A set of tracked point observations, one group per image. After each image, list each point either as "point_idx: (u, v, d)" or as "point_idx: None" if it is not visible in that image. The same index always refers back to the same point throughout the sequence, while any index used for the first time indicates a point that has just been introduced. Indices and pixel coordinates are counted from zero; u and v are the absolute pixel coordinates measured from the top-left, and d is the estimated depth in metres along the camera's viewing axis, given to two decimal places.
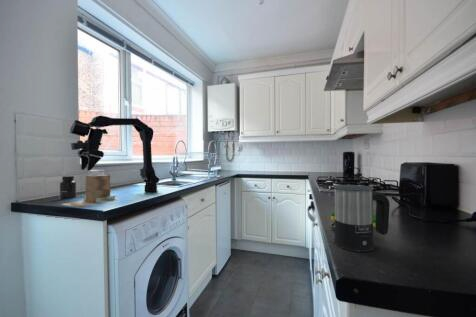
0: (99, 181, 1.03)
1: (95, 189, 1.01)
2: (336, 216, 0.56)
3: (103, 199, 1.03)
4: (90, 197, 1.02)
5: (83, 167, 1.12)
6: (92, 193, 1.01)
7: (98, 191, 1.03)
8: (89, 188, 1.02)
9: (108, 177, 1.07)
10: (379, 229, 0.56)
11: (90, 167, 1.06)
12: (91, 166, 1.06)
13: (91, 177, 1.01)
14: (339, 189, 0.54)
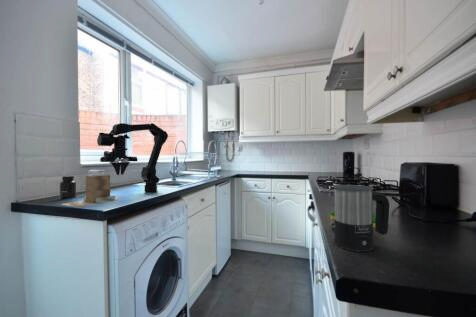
0: (99, 181, 1.03)
1: (95, 189, 1.01)
2: (336, 216, 0.56)
3: (103, 199, 1.03)
4: (90, 197, 1.02)
5: (121, 172, 1.22)
6: (92, 193, 1.01)
7: (98, 191, 1.03)
8: (89, 188, 1.02)
9: (108, 177, 1.07)
10: (379, 229, 0.56)
11: (117, 172, 1.19)
12: (117, 171, 1.19)
13: (91, 177, 1.01)
14: (339, 189, 0.54)
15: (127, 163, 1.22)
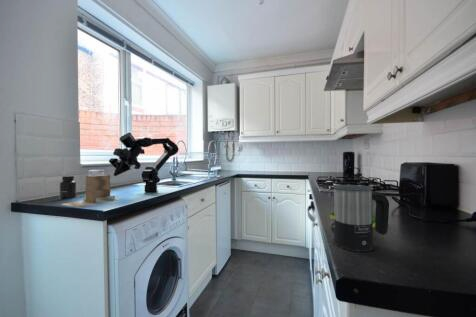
0: (99, 181, 1.03)
1: (95, 189, 1.01)
2: (336, 216, 0.56)
3: (103, 199, 1.03)
4: (90, 197, 1.02)
5: None
6: (92, 193, 1.01)
7: (98, 191, 1.03)
8: (89, 188, 1.02)
9: (108, 177, 1.07)
10: (379, 229, 0.56)
11: (117, 173, 1.14)
12: (118, 173, 1.15)
13: (91, 177, 1.01)
14: (339, 189, 0.54)
15: None
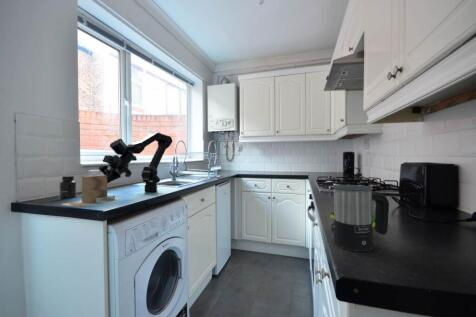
0: (96, 182, 1.02)
1: (91, 189, 1.00)
2: (335, 216, 0.56)
3: (103, 199, 1.03)
4: (87, 198, 1.00)
5: None
6: (88, 194, 1.00)
7: (95, 191, 1.01)
8: (85, 188, 1.01)
9: (105, 177, 1.06)
10: (378, 229, 0.56)
11: (107, 181, 1.09)
12: (108, 181, 1.09)
13: (87, 177, 1.00)
14: (338, 189, 0.55)
15: None
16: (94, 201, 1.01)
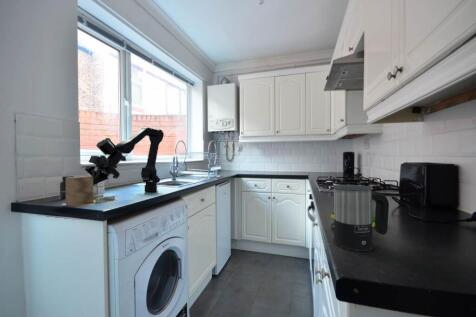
0: (80, 183, 0.96)
1: (75, 192, 0.94)
2: (335, 216, 0.56)
3: (103, 199, 1.03)
4: (70, 201, 0.94)
5: None
6: (72, 196, 0.94)
7: (79, 194, 0.95)
8: (69, 190, 0.95)
9: (91, 179, 1.00)
10: (378, 229, 0.56)
11: (93, 183, 1.03)
12: (94, 183, 1.03)
13: (71, 179, 0.94)
14: (338, 189, 0.55)
15: None
16: (78, 204, 0.95)
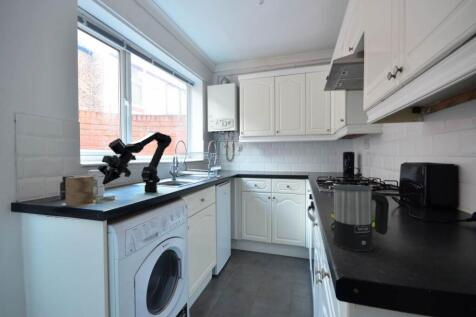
0: (80, 183, 0.96)
1: (75, 192, 0.94)
2: (335, 216, 0.56)
3: (103, 199, 1.03)
4: (70, 201, 0.94)
5: None
6: (72, 196, 0.94)
7: (79, 194, 0.95)
8: (69, 190, 0.95)
9: (91, 179, 1.00)
10: (378, 229, 0.56)
11: (106, 181, 1.09)
12: (108, 181, 1.09)
13: (71, 179, 0.94)
14: (338, 189, 0.55)
15: None
16: (78, 204, 0.95)
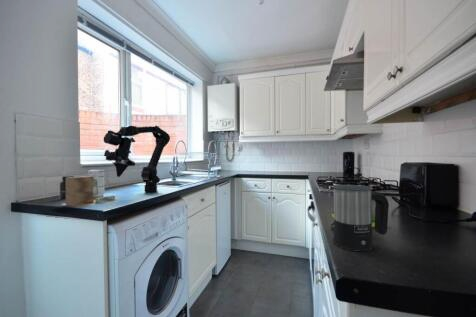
0: (80, 183, 0.96)
1: (75, 192, 0.94)
2: (335, 216, 0.56)
3: (103, 199, 1.03)
4: (70, 201, 0.94)
5: None
6: (72, 196, 0.94)
7: (79, 194, 0.95)
8: (69, 190, 0.95)
9: (91, 179, 1.00)
10: (378, 229, 0.56)
11: (118, 173, 1.16)
12: (118, 172, 1.16)
13: (71, 179, 0.94)
14: (338, 189, 0.55)
15: (127, 166, 1.19)
16: (78, 204, 0.95)
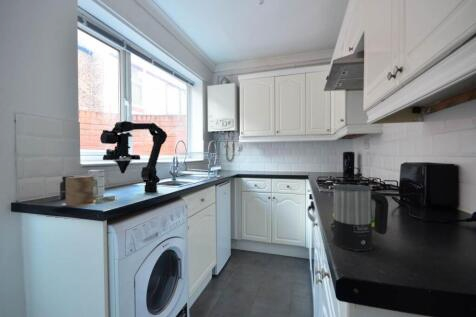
0: (80, 183, 0.96)
1: (75, 192, 0.94)
2: (335, 216, 0.56)
3: (103, 199, 1.03)
4: (70, 201, 0.94)
5: None
6: (72, 196, 0.94)
7: (79, 194, 0.95)
8: (69, 190, 0.95)
9: (91, 179, 1.00)
10: (378, 229, 0.57)
11: (121, 170, 1.19)
12: (121, 169, 1.18)
13: (71, 179, 0.94)
14: (338, 189, 0.55)
15: (128, 161, 1.20)
16: (78, 204, 0.95)
